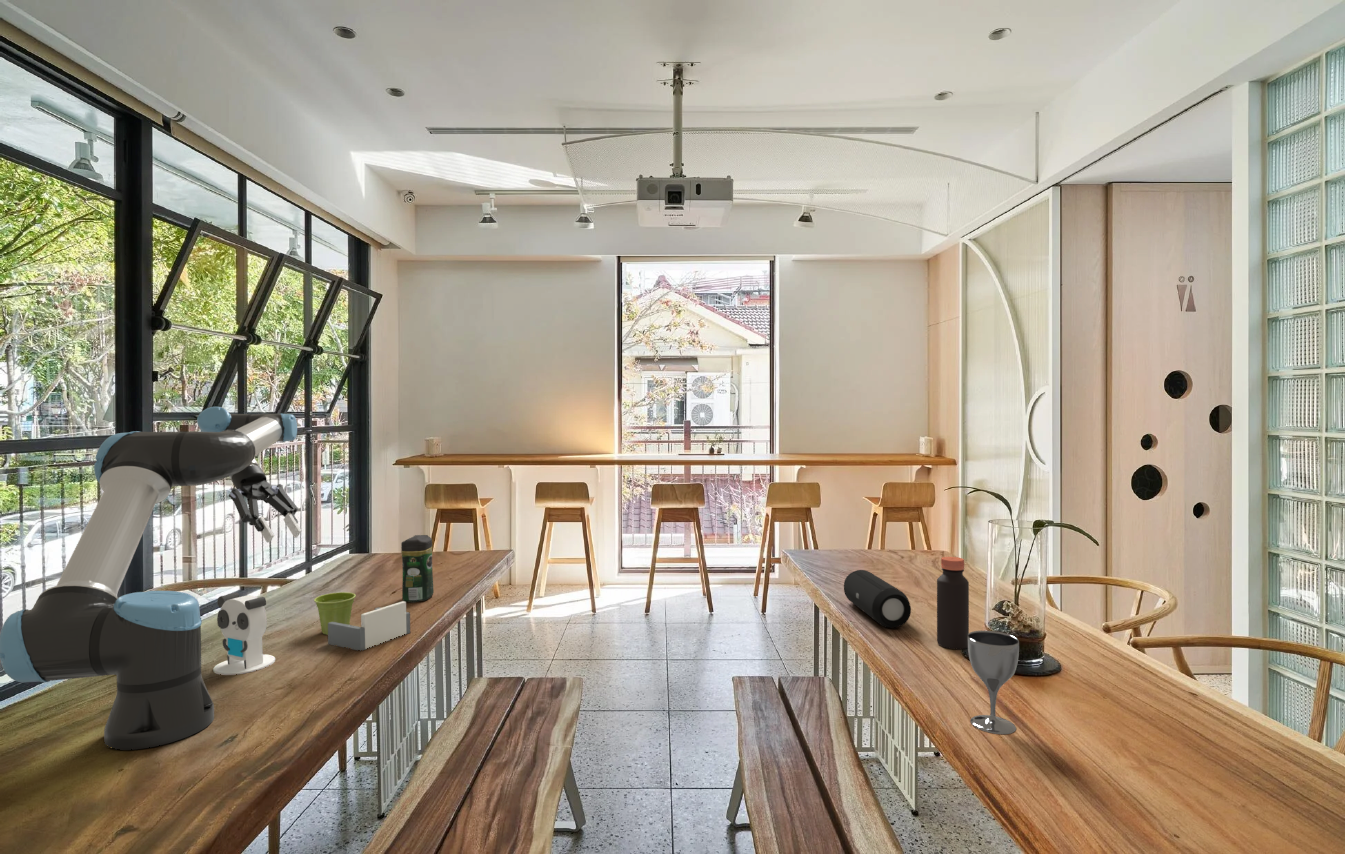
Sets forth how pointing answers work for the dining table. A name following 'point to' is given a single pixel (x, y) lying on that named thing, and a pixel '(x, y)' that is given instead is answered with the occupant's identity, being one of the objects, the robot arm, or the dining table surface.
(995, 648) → the wine glass
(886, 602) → the portable speaker
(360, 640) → the box
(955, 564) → the bottle
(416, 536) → the coffee jar
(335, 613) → the plant pot
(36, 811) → the dining table surface
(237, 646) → the panda figurine
